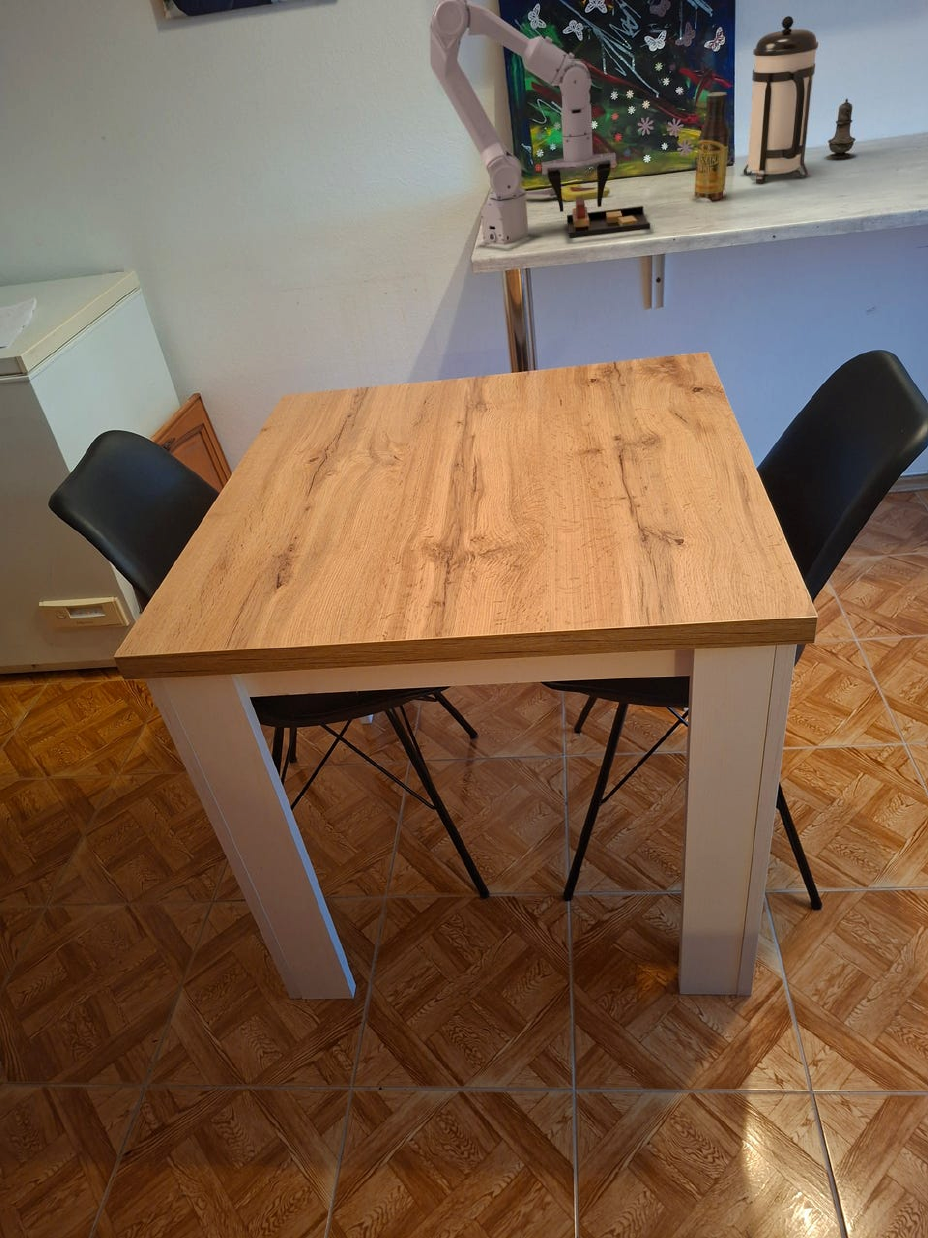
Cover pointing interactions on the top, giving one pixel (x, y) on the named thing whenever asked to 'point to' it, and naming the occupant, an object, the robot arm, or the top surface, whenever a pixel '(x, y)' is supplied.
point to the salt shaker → (842, 134)
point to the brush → (580, 215)
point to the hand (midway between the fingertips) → (580, 207)
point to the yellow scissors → (570, 192)
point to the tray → (601, 226)
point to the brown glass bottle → (712, 149)
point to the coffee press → (781, 101)
